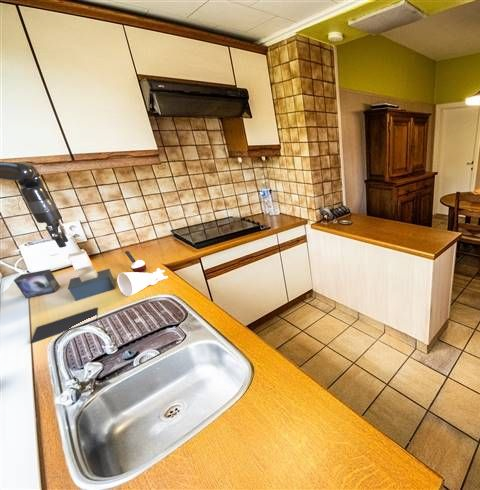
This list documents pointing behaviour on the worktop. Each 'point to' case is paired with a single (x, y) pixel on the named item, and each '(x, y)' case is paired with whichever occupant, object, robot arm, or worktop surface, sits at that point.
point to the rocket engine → (137, 281)
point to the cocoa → (136, 264)
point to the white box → (79, 260)
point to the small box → (37, 283)
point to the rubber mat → (61, 325)
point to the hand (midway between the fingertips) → (64, 244)
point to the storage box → (92, 285)
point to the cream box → (87, 273)
